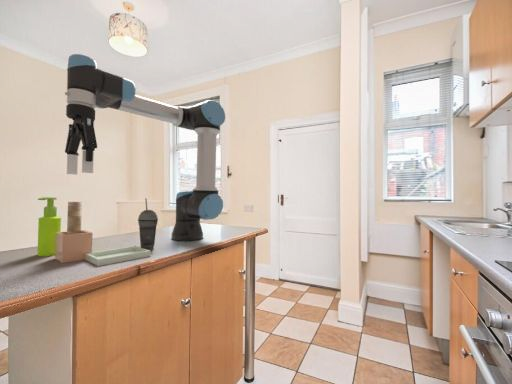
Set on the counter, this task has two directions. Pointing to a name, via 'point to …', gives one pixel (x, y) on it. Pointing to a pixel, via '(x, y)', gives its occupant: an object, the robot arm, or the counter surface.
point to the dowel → (74, 217)
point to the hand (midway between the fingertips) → (79, 173)
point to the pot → (72, 246)
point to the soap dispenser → (48, 228)
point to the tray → (116, 255)
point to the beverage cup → (147, 228)
